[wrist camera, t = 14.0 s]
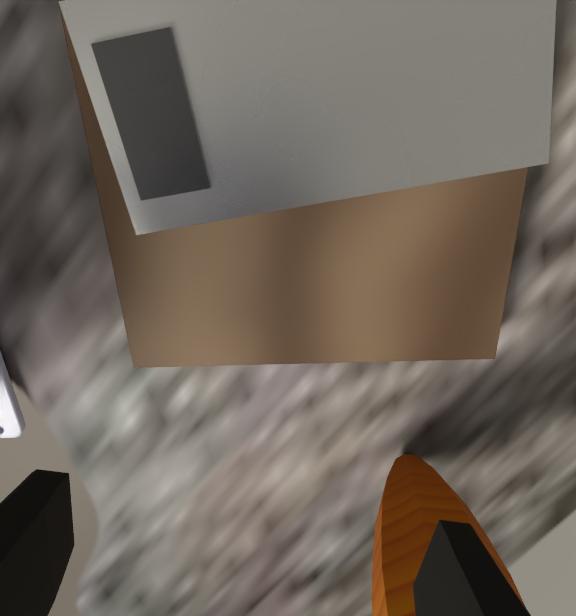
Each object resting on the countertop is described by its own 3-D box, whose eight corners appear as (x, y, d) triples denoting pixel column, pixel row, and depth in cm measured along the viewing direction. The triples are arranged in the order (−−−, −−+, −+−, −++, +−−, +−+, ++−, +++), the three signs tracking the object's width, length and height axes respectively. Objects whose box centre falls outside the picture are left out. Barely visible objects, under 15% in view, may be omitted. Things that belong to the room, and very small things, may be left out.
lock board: (143, 345, 21) (132, 370, 19) (-9, -453, 11) (-55, -525, 10) (482, 337, 21) (496, 361, 19) (612, -493, 11) (662, -572, 10)
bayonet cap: (445, 154, 16) (547, 244, 9) (210, 196, 16) (158, 307, 10) (433, -119, 13) (571, -256, 6) (146, -55, 13) (15, -121, 7)
